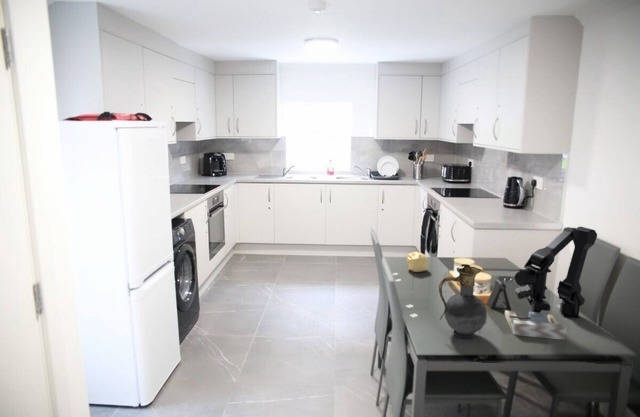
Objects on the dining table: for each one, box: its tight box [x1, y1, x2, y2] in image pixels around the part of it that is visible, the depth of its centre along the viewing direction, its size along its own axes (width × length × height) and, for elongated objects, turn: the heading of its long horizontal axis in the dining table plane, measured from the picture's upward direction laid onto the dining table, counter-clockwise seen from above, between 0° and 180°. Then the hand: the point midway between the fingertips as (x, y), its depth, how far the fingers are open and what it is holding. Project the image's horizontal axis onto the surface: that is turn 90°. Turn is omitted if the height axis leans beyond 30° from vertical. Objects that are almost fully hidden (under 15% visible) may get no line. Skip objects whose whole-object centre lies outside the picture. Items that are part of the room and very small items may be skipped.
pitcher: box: [438, 263, 487, 339], centre depth 170 cm, size 11×19×30 cm, turn 93°
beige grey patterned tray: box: [504, 309, 568, 341], centre depth 179 cm, size 19×19×5 cm
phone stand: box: [486, 278, 512, 310], centre depth 198 cm, size 9×6×12 cm, turn 85°
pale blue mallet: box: [509, 311, 549, 323], centre depth 180 cm, size 14×6×5 cm, turn 77°
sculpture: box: [406, 251, 429, 273], centre depth 247 cm, size 11×12×11 cm
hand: (534, 317), depth 184 cm, fingers closed
